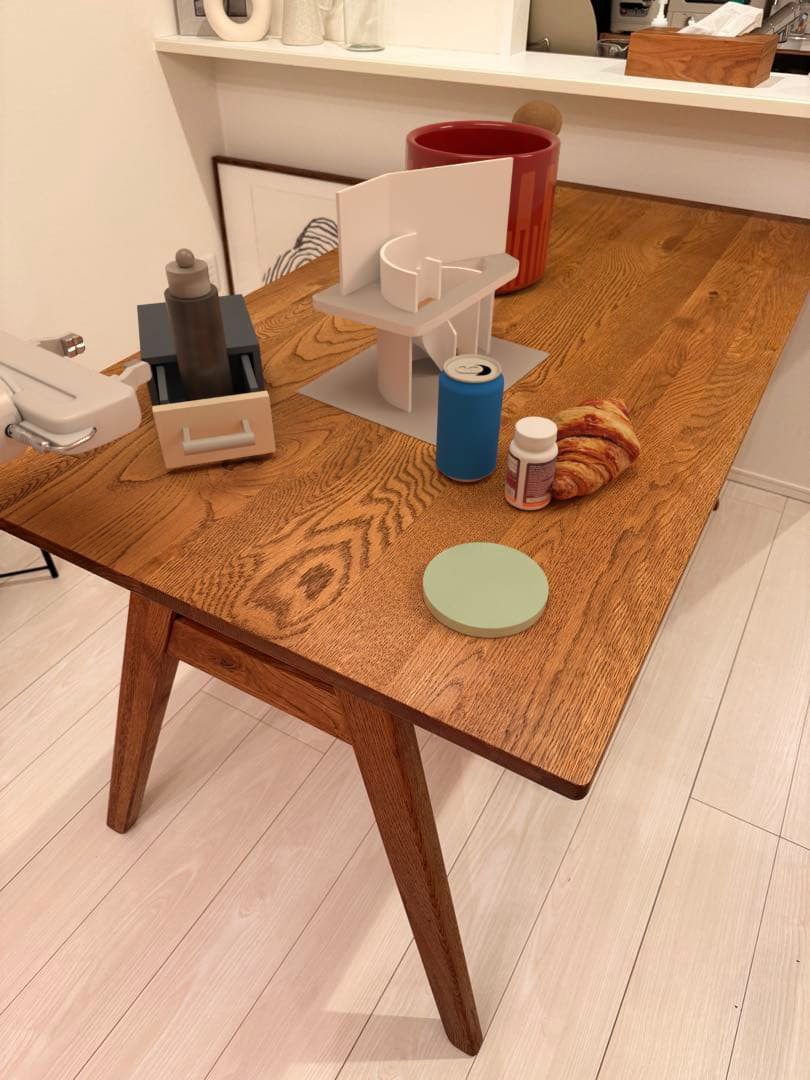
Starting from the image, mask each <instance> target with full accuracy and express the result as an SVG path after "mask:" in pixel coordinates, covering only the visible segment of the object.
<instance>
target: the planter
mask: <svg viewBox="0 0 810 1080" xmlns="http://www.w3.org/2000/svg"><path fill="white" fill-rule="evenodd" d="M561 145H562V140H561V139H560V137H559V136H558V135H555V134H554V133H552V132H550V131H547V130H545V129H542V128H538V127H534V126H530V125H525V124H519V123H512V121H500V120H483V119H482V120H477V119H476V120H473V119H472V120H471V119H470V120H450V121H443V122H435V123H430V124H426V125H422V126H420V127H416V128H414V129H412V130H410V131H409V132H408V133H407V135H406V137H405V151H404V152H405V156H404V171H410V170H417V169H425V168H433V167H440V166H448V165H455V164H463V163H471V162H478V161H486V160H493V159H501V158H509V157H511V158H513V168H512V179H511V190H510V202H509V213H508V224H507V236H506V247H505V253H507V254H509V255H510V256H512V257H514V258H515V259H517V260H518V261H519V270H518V274H517V276H516V277H515V278H513V279H512V280H510V281H509V282H507V283H506V284H504V285H502V286H501V287H499V288H498V289H496V290H495V294H494V296H499V295H504V294H509V293H514V292H518V291H520V290H523V289H525V288H528V287H530V286H532V285H533V284H535V283H537V282H538V281H539V280H540V279H541V278H542V277H543V276H544V274H545V272H546V268H547V262H548V253H549V245H550V239H551V238H550V236H551V230H552V221H553V212H554V207H555V206H554V205H555V197H556V188H557V179H558V172H559V171H558V170H559V163H560V154H561Z"/></svg>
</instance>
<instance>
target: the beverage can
mask: <svg viewBox="0 0 810 1080" xmlns="http://www.w3.org/2000/svg"><path fill="white" fill-rule="evenodd" d="M503 391H504V377H503V374H502V373H501V366H500V364H499V363H498V362H497V361H495V360H494V359H492V358H489V357H486V356H482V355H476V354H465V355H458V356H455V357H452V358H450V359H448V360H447V361H446V362H445V363H444V369H443V370H442V372H441V373H440V376H439V388H438V414H437V440H436V446H435V465H436V468H437V469H438V471H439V472H441V474H443V475H444V476H447V478H449V479H451V480H453V481H457V482H462V483H472V482H477V481H481V480H483V479H484V478H486V477H488V476H490V475H491V474H492V473H494V471H495V469H496V467H497V462H498V451H499V440H500V431H501V420H502V410H503V402H504V401H503V400H504V393H503Z"/></svg>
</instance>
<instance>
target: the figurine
mask: <svg viewBox="0 0 810 1080" xmlns="http://www.w3.org/2000/svg"><path fill="white" fill-rule="evenodd" d="M512 116H513V117H512V119H511V123H519V124H525V125H530V126H534V127H538V128H542V129H545V130H547V131H550V132H552V133H554V134H555V135H557V136H558V135H559V134H560V133H561V131H562V126H563V116H562V114H561V112H560V110H559V108H557V107H556V106H555V104H552V103H550V102H548V101H545V100H542V99H536V100H531V101H530V102H527V103H524V104H522V105H521V106H520V107H519V108H517V110H515V113H514V114H513V115H512Z"/></svg>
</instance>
